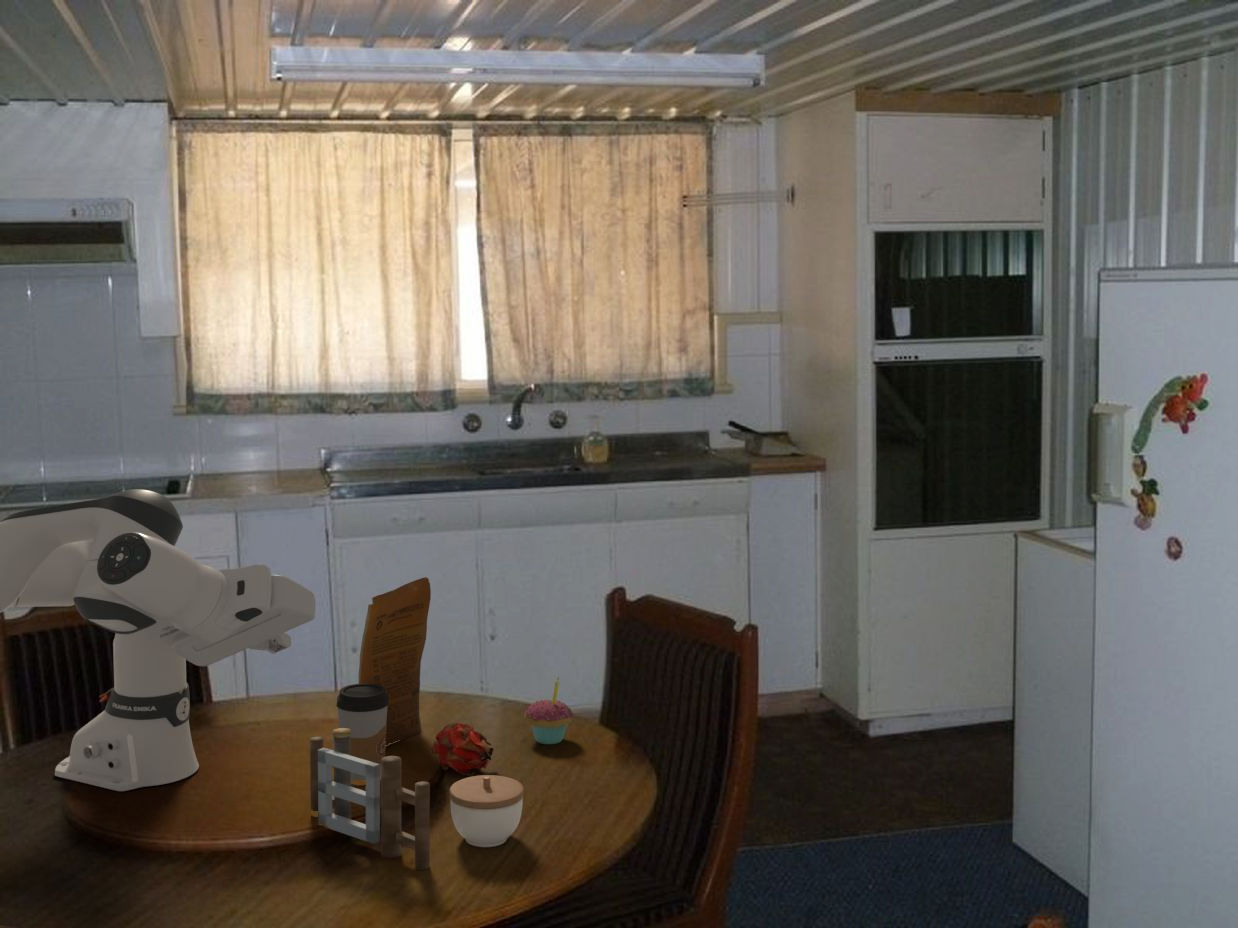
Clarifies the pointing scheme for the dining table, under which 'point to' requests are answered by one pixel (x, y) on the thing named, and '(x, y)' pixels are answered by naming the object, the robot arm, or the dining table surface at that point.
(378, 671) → the pancake mix bag
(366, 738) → the coffee cup
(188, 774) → the robot arm
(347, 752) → the fence
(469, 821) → the lidded jar
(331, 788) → the gate
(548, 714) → the cupcake
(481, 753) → the dragon fruit
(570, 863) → the dining table surface
